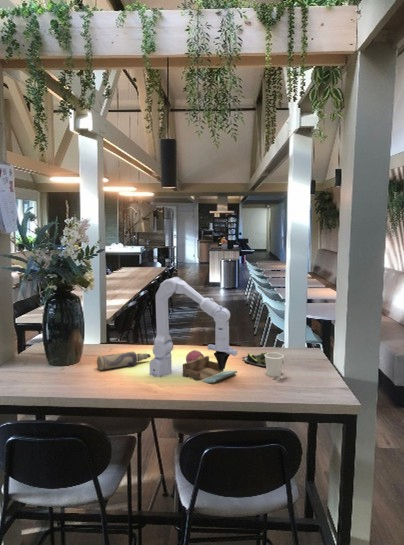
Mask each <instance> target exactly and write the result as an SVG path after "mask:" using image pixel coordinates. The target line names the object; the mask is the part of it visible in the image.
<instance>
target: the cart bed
mask: <svg viewBox="0 0 404 545" xmlns="http://www.w3.org/2000/svg"><path fill="white" fill-rule="evenodd" d="M222 372H224V369H223V370H220V369H219V365H218V362H217V361H212V360H210V356H209V355H204V357H202V358H199V359H196V360H193V361H190V362H185V363H183V364H182V377H184V378H191V379H193V381H196V382H198V381H200V382H202V381H201V380H204V379H206V378H209V377H212V376H214V375H217V374H219V373H222Z"/></svg>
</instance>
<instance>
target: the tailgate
mask: <svg viewBox="0 0 404 545" xmlns="http://www.w3.org/2000/svg"><path fill="white" fill-rule="evenodd" d="M237 373H238V371H237V370H225V371H224V370H223V372H221V373H218V374H216V375H213V376H211V377H208V378H206V379H203V380H201V381H200V382H203V383H215V382H216V383H217V382H218V381H221V380H223V379H226V378H228V377H231V376H233V375H235V374H237Z"/></svg>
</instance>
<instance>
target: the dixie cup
mask: <svg viewBox="0 0 404 545" xmlns="http://www.w3.org/2000/svg"><path fill="white" fill-rule="evenodd" d="M265 353H266V354H265V355H264V356H265V361H266V368H265V369H266V375H267V376H268V377H275V378H273V379H272V380H273V381H274V380H275V381H276V380H280V379H281V375H282V370H283V362H284V357H285V356H284V354H283V353H279V352H265Z"/></svg>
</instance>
